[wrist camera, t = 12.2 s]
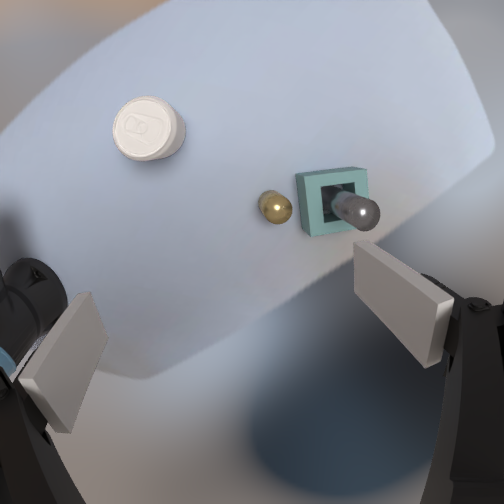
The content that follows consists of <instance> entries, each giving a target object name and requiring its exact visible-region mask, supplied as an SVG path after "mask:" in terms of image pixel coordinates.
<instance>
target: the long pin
mask: <svg viewBox="0 0 504 504" xmlns="http://www.w3.org/2000/svg"><path fill="white" fill-rule="evenodd" d="M321 197H322V206H323V208H324V209H325V210H327V211H329V212H330V213H332V214H334V215H335V216H337V217H339V218H340V219H342V220H344V221H345V222H347V223H349V224H350V225H352V226H354V227H355V228H357V229H358V230H360V231H369V230H371V229H373V228H374V227H375V226H376V225H377V223H378V222H379V219H380V209H379V207H378V205H377V204H376V203H375V202H374V201H373V200H370V199H367V198H365V197H362V196H359V195H357V194H354V193H351V192H349V191H346V190H343V189H340V188H337V187H335V186H332V185H328V186H322V187H321Z"/></svg>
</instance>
